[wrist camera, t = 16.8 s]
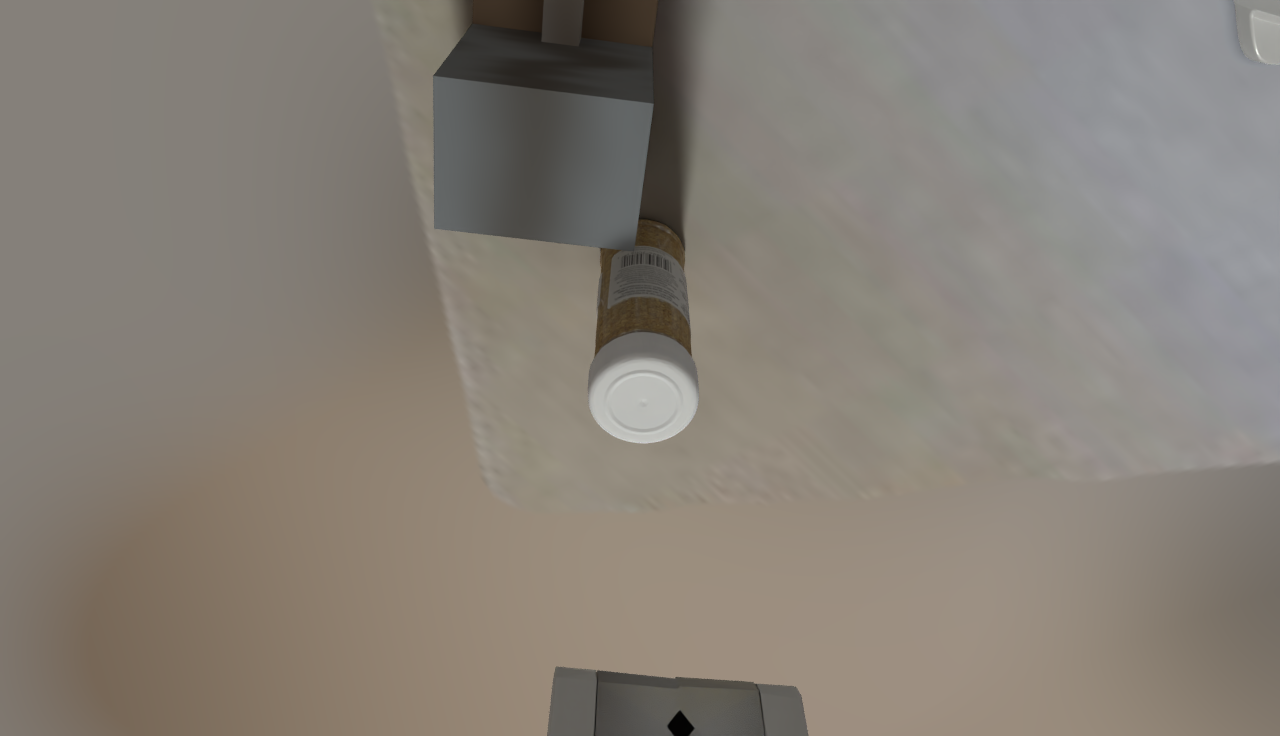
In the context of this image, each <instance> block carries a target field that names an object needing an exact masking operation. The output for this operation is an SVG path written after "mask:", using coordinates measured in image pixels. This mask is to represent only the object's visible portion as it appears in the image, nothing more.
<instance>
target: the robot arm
mask: <svg viewBox="0 0 1280 736" xmlns="http://www.w3.org/2000/svg"><path fill="white" fill-rule="evenodd" d="M1234 3H1235V11H1236V22H1237V31H1238V37H1239V42H1240V45H1241V49H1242V51H1243V53H1244V54H1245V56H1246V57H1247V58H1249V59H1250V60H1252V61H1256V62H1260V63H1265V64H1269V65H1280V0H1234ZM547 736H808V730H807V725H806V719H805V714H804V708H803V703H802V697H801V694H800V693H799V691H798V689H797V688H796V687H794V686H783V685H768V684H754V683H753V682H744V681H729V680H714V679H699V678H683V677H676V678H666V677H656V676H646V675H636V674H627V673H618V672H608V671H597V672H596V670H589V669H577V668H566V667H556V668H555V673H554V678H553V686H552V695H551V706H550V714H549V723H548V732H547Z"/></svg>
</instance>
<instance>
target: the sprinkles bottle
mask: <svg viewBox="0 0 1280 736" xmlns="http://www.w3.org/2000/svg"><path fill="white" fill-rule="evenodd" d="M684 264H685V252H684V248H683V246H682V243H681V241H680V239H679V238H678V236H677V235H676V234H675V232H673V231H672V230H671V229H670V228H669V227H667V226H666V225H664V224H661V223H659V222H656V221H650V220H647V219H641V220H638V227H637V234H636V242H635V249H634V252H633V251H624V250H616V249H607V248H602V249H601V256H600V265H601V275H600V279H599V287H598V299H597V330H596V347H595V357H594V359H593V361H592V364H591V366H590V370H589V379H588V404H589V408H590V411H591V413H592V415H593V417H594V419H595V420H596V422H597V423H598V424H599V425H600V426H601V427H602V428H603V429H604V430H605V431H606V432H608V433H609V434H611V435H613V436H614V437H616V438H619V439H622V440H624V441H629V442H634V443H653V442H659V441H662V440H665V439H668V438H670V437H672V436H674V435H676V434H677V433H679V432H680V431H682V430H683V429H684V428H685V427H686V426H687V425H688V424H689V422H690V421H691V420H692V418H693V417H694V415H695V413H696V410H697V407H698V402H699V387H698V375H697V369H696V365H695V363H694V361H693V359H692V354H691V329H690V319H689V306H688V295H687V284H686V277H685V274H684Z"/></svg>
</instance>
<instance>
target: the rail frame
mask: <svg viewBox="0 0 1280 736" xmlns="http://www.w3.org/2000/svg"><path fill="white" fill-rule="evenodd" d="M657 6H658V0H473V24H472V25H471V26H470V28H469V29H468V30H467V32H466V33H465V34H464V36H463V37H462V38H461V40H460V41H459V42H458V44H457V45H456V46H455V48H454V49H453V50H452V52H451V53H450V54H449V56H448V57H447V58H446V60H445V61H444V62H443V64H442V65H441V66H440V68H439V69H438V70H437V72H436V73H435V74H434V76H433V110H434V229H442V230H451V231H459V232H468V233H477V234H486V235H494V236H503V237H512V238H520V239H529V240H538V241H546V242H555V243H564V244H572V245H581V246H590V247H598V248H607V249H616V250H624V251H633V252H634V249H635V242H636V234H637V227H638V219H639V211H640V204H641V196H642V189H643V181H644V174H645V166H646V159H647V151H648V144H649V136H650V129H651V121H652V114H653V106H654V92H653V55H652V45H653V38H654V30H655V22H656V14H657Z"/></svg>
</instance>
